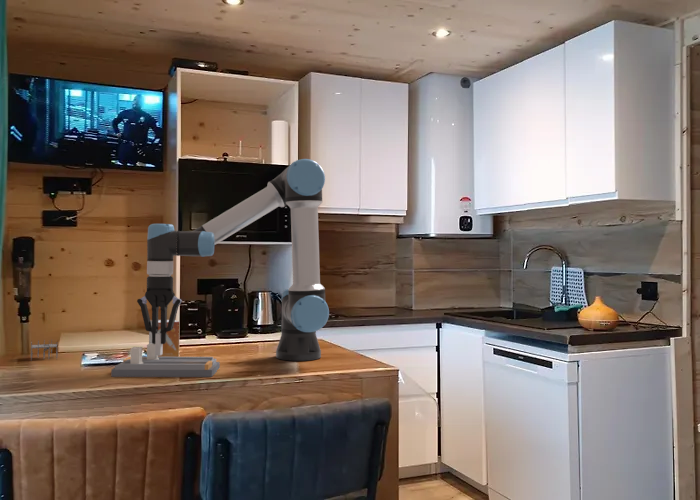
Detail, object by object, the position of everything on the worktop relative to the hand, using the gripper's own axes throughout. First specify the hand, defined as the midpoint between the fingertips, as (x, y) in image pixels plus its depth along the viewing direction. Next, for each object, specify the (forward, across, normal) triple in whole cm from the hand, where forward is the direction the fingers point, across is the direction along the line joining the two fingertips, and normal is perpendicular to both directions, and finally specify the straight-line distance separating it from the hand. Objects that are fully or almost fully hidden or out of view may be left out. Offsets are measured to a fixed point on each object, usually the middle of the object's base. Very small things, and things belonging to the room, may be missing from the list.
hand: (158, 354), depth 185 cm
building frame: (+5, +42, -20) cm, 47 cm away
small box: (+5, +2, -16) cm, 17 cm away
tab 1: (+2, +5, +7) cm, 9 cm away
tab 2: (+2, +2, 0) cm, 3 cm away
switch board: (+5, -4, +3) cm, 7 cm away
